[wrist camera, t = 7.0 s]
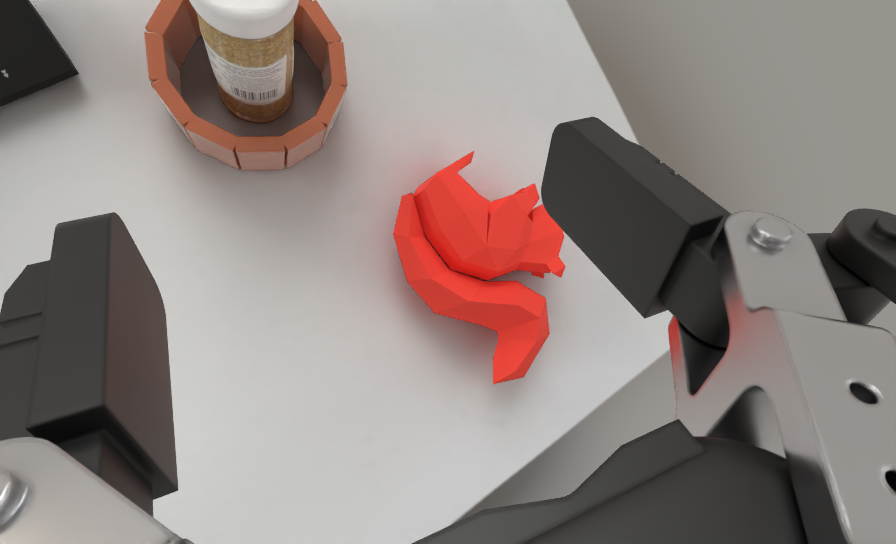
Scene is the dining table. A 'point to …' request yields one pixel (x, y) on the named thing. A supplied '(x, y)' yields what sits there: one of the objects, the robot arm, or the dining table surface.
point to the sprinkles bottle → (250, 53)
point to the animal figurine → (481, 260)
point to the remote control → (28, 52)
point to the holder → (165, 55)
